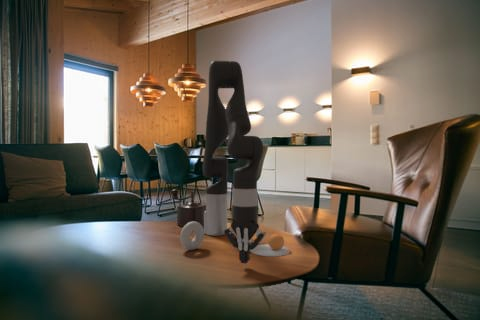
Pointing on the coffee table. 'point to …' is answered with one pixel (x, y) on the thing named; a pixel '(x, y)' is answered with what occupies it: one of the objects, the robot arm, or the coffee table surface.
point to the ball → (276, 241)
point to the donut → (186, 233)
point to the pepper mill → (188, 210)
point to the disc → (269, 250)
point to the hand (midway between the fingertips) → (244, 262)
